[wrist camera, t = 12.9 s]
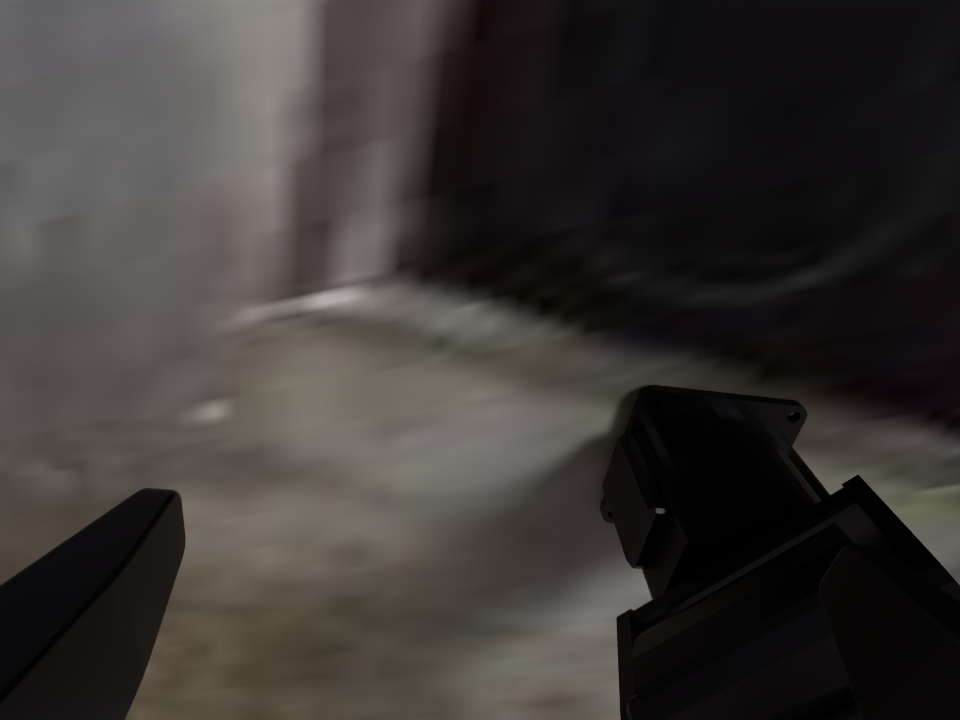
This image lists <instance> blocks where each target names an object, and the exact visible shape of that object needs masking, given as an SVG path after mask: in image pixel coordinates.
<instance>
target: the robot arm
mask: <svg viewBox="0 0 960 720" xmlns="http://www.w3.org/2000/svg"><path fill="white" fill-rule="evenodd" d="M652 397H657V399H656V400H655V401H653V402H648V400H649V399H650V398H652ZM792 412H794V414H793V415H791V416H789V417H788V415H789V414H790V413H792ZM806 417H807V411H806V410H805V408H804V407H803V406H802V405H801V404H800V403H799V402H798V401H794V400H786V399H777V398H768V397H759V396H750V395H741V394H731V393H722V392H713V391H704V390H695V389H686V388H677V387H668V386H659V385H649V386H647V387H644V388H643V389H642V390H641V391H640V393H639V394H638V397H637V400H636V402H635V405H634V408H633V411H632V414H631V417H630V420H629V423H628V426H627V429H626V432H625V434H623V435H622V436H621V437H619V438H618V441H617V444H616V447H615V450H614V453H613V456H612V459H611V462H610V465H609V468H608V471H607V474H606V477H605V480H604V483H603V490H604V493H605V494H604V497H603V500H602V503H601V506H600V510H601V514H602V517H603V519H604V520H605V521H607V522H610V523H614V524H615V527H616V530H617V533H618V536H619V539H620V542H621V545H622V548H623V551H624V554H625V557H626V560H627V562H628V563H629V564H630V566H631V567H632V568H638V569H642V571H643V574H644V577H645V580H646V582H647V585H648V588H649V591H650V594H651V597H652V599H653V600H651V601H649V602H648V603H646V604H644V605H643V606H641V607H639V608H637V609H636V610H634V611H633V610H632V609H630V610H628V611H626V612H625V613H623V614H621V615H619V616H618V617H617V642H618V668H619V693H620V716H621V720H960V585H959V584H958V583H957V582H956V581H955V579H954V578H953V577H952V576H951V575H950V574H949V573H948V572H947V570H946V569H945V568H944V567H943V566H942V565H941V564H940V563H939V561H938V560H937V559H936V558H935V557H934V556H933V555H932V554H931V553H930V552H929V550H928V549H927V548H926V547H925V546H924V545H923V544H922V543H921V542H920V541H919V540H918V539H917V538H916V536H915V535H914V534H913V533H912V532H911V531H910V530H909V529H908V528H907V527H906V526H905V525H904V523H903V522H902V521H901V520H900V519H899V518H898V517H897V516H896V515H895V514H894V513H893V512H892V511H891V509H890V508H889V507H888V506H887V505H886V504H885V503H884V502H883V501H882V500H881V499H880V498H879V496H878V495H877V494H876V493H875V492H874V491H873V490H872V489H871V488H870V487H869V486H868V485H867V483H866V482H865V481H864V480H863V479H862V478H861V477H860V476H859V475H857V476H855V477H853V478H852V479H850V480H848V481H847V482H845V483H843V484H842V486H843V488H842V489H840V490H838V491H837V492H835V493H833V494H832V495H830V494H829V493H828V492H827V490H826V489H825V488H824V487H823V485H822V484H821V483H820V482H819V480H818V479H817V478H816V476H815V475H814V474H813V473H812V471H811V470H810V469H809V468H808V466H807V465H806V464H805V462H804V461H803V460H802V459H801V457H800V456H799V455H798V454H797V452H796V451H795V450H794V448H793V447H792V445H793V443H794V441H795V439H796V437H797V435H798V434H799V432H800V430H801V428H802V426H803V424H804V422H805V420H806ZM610 511H611V512H610ZM185 540H186V539H185V528H184V519H183V509H182V501H181V497H180V495H179V493H178V492H177V491H175V490H167V489H154V488H145V489H142V490H139V491H138V492H136V493H135V494H133V495H132V496H130V497H129V498H127V499H126V500H124V501H123V502H121V503H120V504H119V505H117V506H116V507H114V508H113V509H111V510H110V511H108V512H107V513H105V514H104V515H103V516H101V517H100V518H98V519H97V520H95V521H94V522H92V523H91V524H89V525H88V526H86V527H85V528H84V529H82V530H81V531H79V532H78V533H76V534H75V535H73V536H72V537H70V538H69V539H67V540H66V541H65V542H63V543H62V544H60V545H59V546H57V547H56V548H54V549H53V550H51V551H50V552H48V553H47V554H46V555H44V556H43V557H41V558H40V559H38V560H37V561H35V562H34V563H32V564H31V565H30V566H28V567H27V568H25V569H24V570H22V571H21V572H19V573H18V574H16V575H15V576H13V577H12V578H11V579H9V580H8V581H6V582H5V583H3V584H2V585H0V720H125V718H126V715H127V713H128V711H129V709H130V707H131V704H132V702H133V700H134V698H135V695H136V693H137V691H138V688H139V686H140V683H141V681H142V679H143V676H144V673H145V670H146V668H147V665H148V662H149V659H150V656H151V653H152V650H153V647H154V644H155V641H156V638H157V635H158V632H159V628H160V625H161V622H162V619H163V616H164V613H165V610H166V607H167V604H168V601H169V598H170V595H171V592H172V589H173V586H174V582H175V579H176V576H177V573H178V570H179V567H180V564H181V561H182V558H183V554H184V550H185Z"/></svg>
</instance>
